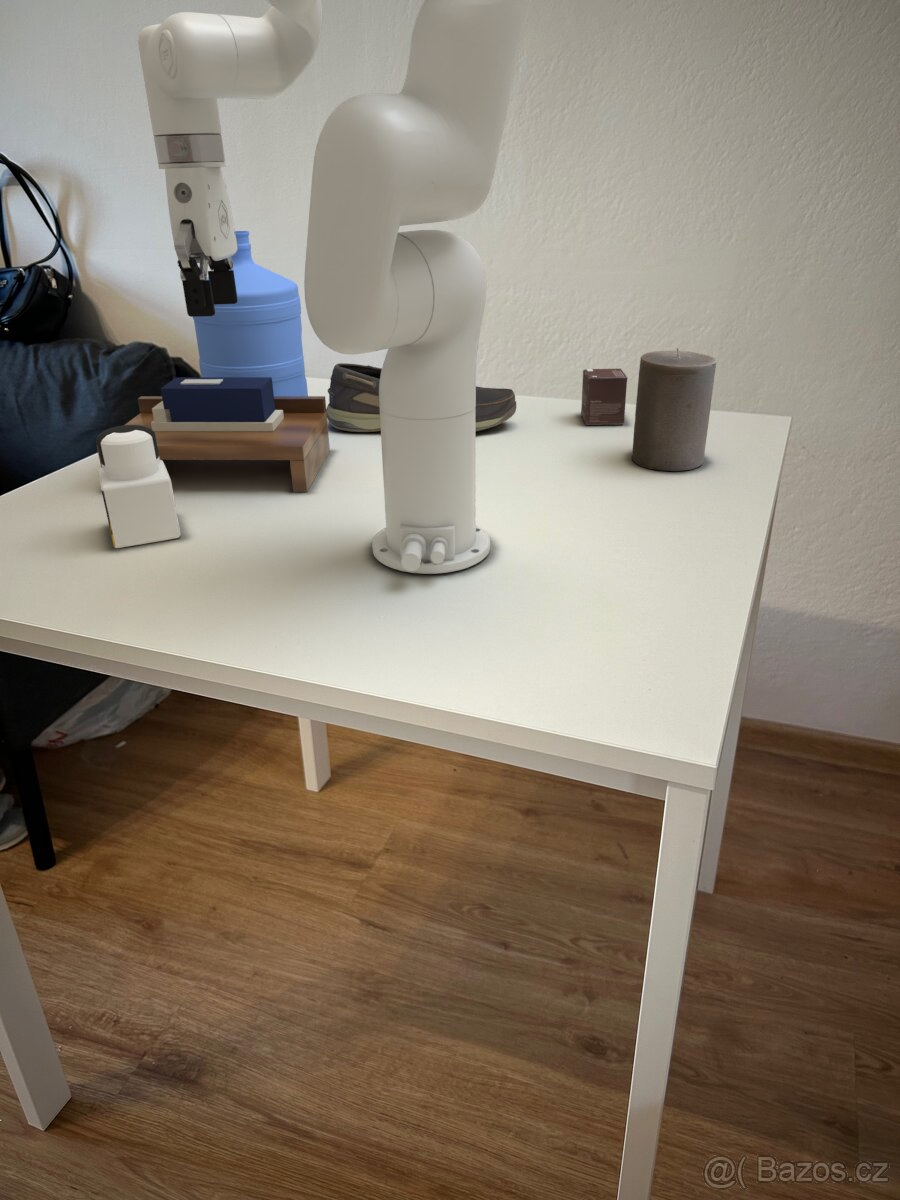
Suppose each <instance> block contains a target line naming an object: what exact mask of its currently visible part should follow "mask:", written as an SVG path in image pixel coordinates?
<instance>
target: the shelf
mask: <svg viewBox="0 0 900 1200" xmlns="http://www.w3.org/2000/svg"><path fill="white" fill-rule="evenodd" d="M161 401H163V400H162V395H160V396H157V395H155V396H153V395H150V396H146V395H145V396H144V395H143V396H140V397H138V398H137V403H138V409H139V414H137V415H136V416H135V417H133V418H132V419H130V420H129V421H127V422H126V423H125V424H124V425H141V426H144V427H148V428H150V429H152V425H151V422H152V421H154V418H153V412H152V408H154V407H155V406H156V405H157V404H159V403H160V402H161ZM274 402H275V410H283V415H284V419H283V420H282V421H281V423H280V424H279V425H278V426H277V428H276V429H275V430H274V431H273V432H261V431H154V432H155V436H156V442H157V447H158V453H159V458H160V460H162V461H163V460H165V461H166V460H168V461H185V460H186V461H204V460H205V461H289V464H290V475H291V484H292V485H291V486H292V492H293V493H308V491H309V490H310V487H311V486H312V484H313V482H314V481H315V479H316V477H317V475H318V474H319V472H320V469H321V468H322V466H323V465H324V463H325V461H326V459H327V458H328V456H329V454H330V452H331V450H330V437H329V427H328V419H327V413H326V409H327V401H326V396H324V395H308V396H274ZM96 451H97V455H98V459H99V463H100V468H102V464H101V460H100V455H99V450H98V446H97V445H96Z"/></svg>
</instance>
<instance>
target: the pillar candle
mask: <svg viewBox="0 0 900 1200" xmlns="http://www.w3.org/2000/svg"><path fill="white" fill-rule="evenodd" d="M717 363H718V360H717V359H716V357H714V356H711V355H708V354H704V353H701V352H695V351H689V350H679V347H676V350H657V351H656V350H655V351H650V352H646V353H643V354H642V355H641V356H640V360H639V368H638V369H639V370H638V380H637V389H636V390H637V391H636V403H635V412H634V413H635V414H634V426H633V439H632V451H631V452H632V455H630V458H631V461H633V462H634V463H635V464H637V466H640V467H642V468H645V469H651V470H657V471H665V472H667V471H669V472H680V471H682V472H683V471H689V470H694V469H697V468H700V467H701V466H702V465H703V463H704V459H705V453H706V445H707V437H708V429H709V423H710V422H709V421H710V416H711V407H712V399H713V398H712V397H713V392H714V383H715V376H716V368H717Z"/></svg>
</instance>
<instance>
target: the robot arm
mask: <svg viewBox="0 0 900 1200" xmlns="http://www.w3.org/2000/svg"><path fill="white" fill-rule="evenodd" d="M265 1H266V2H268V3H269V4H270V5H271V6H270V8H269V9H268V10H267V11H266V12H265V13H264V14H263V15H262V16H261V17H252V16H245V15H233V14H223V13H207V12H197V11H196V12H195V11H182V12H180V11H179V12H177V13H173V14H171V15H170V16H168V17H166V19H164V21H162V23H156V24H151V25H148V26H145V27H143V28H142V29H141V30H140V32H139V34H138V41H137V43H138V50H139V51H138V52H139V56H140V57H139V58H140V63H141V70H142V75H143V81H144V87H145V94H146V99H147V106H148V111H149V117H150V123H151V129H152V134H153V141H154V147H155V152H156V153H155V154H156V159H157V166H158V170H164V175H165V186H166V188H165V189H166V196H167V205H168V207H167V208H168V215H169V221H170V228H171V235H172V239H173V247H174V251H175V253H176V257H177V259H178V260H177V262H176V263H177V266H178V267H179V270H180V272H179V276H180V280H181V283H182V290H183V296H184V301H185V302H184V303H185V305H186V306H185V307H186V314H187V315H188V316H189V317H191V318H193V317H202V316H213V315H215V307H214V304H235V303H237V301H238V299H237V292H236V284H235V277H234V270H233V262H232V259H231V256H233V255H234V254H235V253H236V251H237V241H236V235H235V231H236V230H235V224H234V219H233V213H232V208H231V202H230V195H229V191H228V188H227V182H226V179H225V175H224V171H223V168H225V167H227V164H226V158H225V149H224V142H223V134H222V127H221V119H220V113H219V105H218V100H219V99H220V100H224V99H236V100H237V99H240V100H242V99H243V100H245V99H246V100H270V99H273V98H276V97H278V96H280V95H282V94H283V93H285V92H286V91H288V90H289V89H290V88H291V87H292V86H293V85H294V84H295V82H297V81H298V79H299V78H300V77H301V76H302V74H303V73H304V72H305V71H306V70H307V68H308V67H309V66H310V65H311V64H312V62H313V60H314V58H315V57H316V54H317V52H318V49H319V45H320V40H321V36H322V28H323V5H322V0H265ZM533 2H534V0H423V2H422V4H421V6H420V9H419V11H418V13H417V16H416V18H415V21H414V25H413V29H412V33H411V39H410V49H409V56H408V57H409V58H408V64H407V69H406V76H405V79H404V83H403V86H402V88H401V90H400V92H399V93H382V92H381V93H380V92H378V93H376V92H375V93H374V92H373V93H372V92H371V93H362V94H358V95H355V96H354V95H353V96H352V97H349V98H347V99H345V100H343V101H342V102H341V103H340V104H338V105H337V106H336V107H335V108H334V109H333V110H332V112H331V113H330V114H329V116H327V118H326V121H325V122H324V124H323V127H322V129H321V131H320V133H319V136H318V139H317V142H316V145H315V146H316V147H315V151H314V156H313V166H312V173H311V184H310V185H311V187H310V198H309V211H308V225H307V237H306V248H305V249H306V250H305V263H304V279H303V280H304V283H303V284H304V286H303V287H304V302H305V308H306V313H307V316H308V317H307V318H308V320H309V324H310V326H311V327H312V330H313V332H314V335H316V337H317V339H319V341H320V342H321V343H322V344H323V345H324V346H325V347H327V348H328V349H330V350H332V351H333V352H337V353H339V354H343V355H361V354H362V355H363V354H369V353H373V352H378V351H383V350H387V351H386V354H385V356H384V360H383V363H382V367H381V368H382V370H381V376H380V383H379V405H380V425H381V431H380V440H381V441H380V442H381V443H380V444H381V455H382V456H381V459H382V477H383V496H384V514H385V527H384V528H382V529H381V530H380V531H378V532H377V533H376V534H375V536H374V537H373V539H372V541H371V544H372V554H373V556H374V557H375V559H376V560H377V561H378V562H379V563H381V564H383V565H384V566H386V567H388V568H391V569H393V570H397V571H400V572H404V573H405V572H406V573H411V574H419V575H420V574H421V575H422V574H423V575H437V574H444V573H445V574H446V573H453V572H457V571H462V570H464V569H468V568H470V567H472V566H475V565H477V564H478V563H480V562H482V561H483V560H485V558H486V557H487V556H488V555H489V553H490V551H491V538H490V535H489V534H488V533H487V531H486V530H485V529H483V528H482V527H481V526H478V525H477V524H476V523H477V521H476V517H477V516H476V511H477V510H476V509H477V507H476V503H477V502H476V501H477V499H476V490H477V488H476V487H477V486H476V483H477V482H476V481H477V479H476V476H477V475H476V474H477V473H476V470H477V469H476V467H477V466H476V465H477V464H476V461H477V460H476V456H477V455H476V453H477V452H476V450H477V449H476V432H475V406H476V386H477V360H478V348H479V341H480V334H481V329H482V324H483V318H484V313H485V307H486V301H487V277H486V271H485V267H484V264H483V261H482V258H481V257H480V255H479V253H478V251H477V250H476V249H475V247H474V246H473V245H472V244H471V243H469V241H467V240H466V239H465V238H463V237H462V236H461V235H459V234H456V233H453V232H450V231H446V230H440V229H419V230H418V229H417V230H408V231H399V230H400V227H403V226H404V227H405V226H413V225H414V226H415V225H423V224H424V225H425V224H432V223H433V224H434V223H442V222H449V221H455V220H459V219H463V218H465V217H468V216H471V215H472V214H474V213H476V212H477V211H479V209H481V207H482V206H483V205H484V204H485V202H486V200H487V198H488V195H489V193H490V191H491V188H492V184H493V179H494V176H495V171H496V167H497V166H496V165H497V162H498V157H499V152H500V147H501V142H502V138H503V135H504V128H505V124H506V123H505V122H506V119H507V113H508V109H509V104H510V100H511V94H512V89H513V85H514V79H515V73H516V67H517V61H518V56H519V53H520V48H521V43H522V38H523V35H524V31H525V28H526V24H527V21H528V18H529V15H530V11H531V9H532V4H533ZM208 268H209V269H210V270H209V269H208ZM207 277H209V280H207Z"/></svg>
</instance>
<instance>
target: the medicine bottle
mask: <svg viewBox="0 0 900 1200" xmlns="http://www.w3.org/2000/svg"><path fill="white" fill-rule="evenodd" d="M95 440H96V447H97V446H98V450H99V455H100V459H99V461H100V460H101V464H102V468H101V467H99V468H98V469H97V475H98V480H99V485H100V490H101V496H102V499H103V504H104V508H105V509H104V510H105V513H106V517H107V522H108V526H109V530H110V536H111V540H112V545H113V547H114V548H115V549H122V548H126V547H132V546H133V547H135V546H140V545H145V544H150V543H157V542H163V541H169V540H174V539H179V538H180V537H181V528H180V523H179V518H178V517H179V516H178V511H177V508H176V507H177V506H176V502H175V501H176V500H175V495H174V490H173V484H172V483H173V482H172V479H171V477H170V474H169V471H168V470H167V467H166V464H165V463H164V461H163V460H160V458H159V453H158V447H157V442H156V436H155V432H154V431H153V430H152V429H150V428H148V427H144V426H141V425H125V424H123V425H116V426H113V427H110V428H107V429H105V430H104V431H102V432H100V433H98V435H97V437H96V439H95ZM98 450H97V451H98ZM99 455H98V456H99ZM101 464H100V465H101Z"/></svg>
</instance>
